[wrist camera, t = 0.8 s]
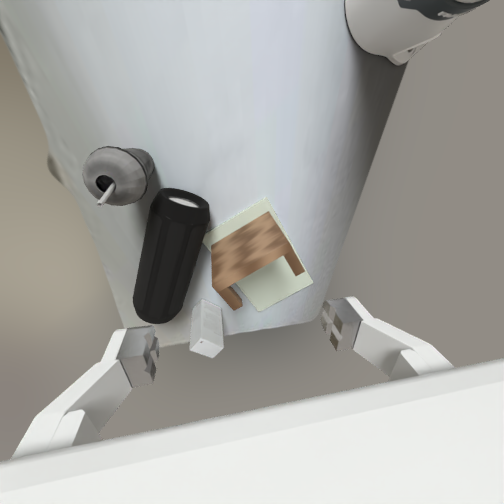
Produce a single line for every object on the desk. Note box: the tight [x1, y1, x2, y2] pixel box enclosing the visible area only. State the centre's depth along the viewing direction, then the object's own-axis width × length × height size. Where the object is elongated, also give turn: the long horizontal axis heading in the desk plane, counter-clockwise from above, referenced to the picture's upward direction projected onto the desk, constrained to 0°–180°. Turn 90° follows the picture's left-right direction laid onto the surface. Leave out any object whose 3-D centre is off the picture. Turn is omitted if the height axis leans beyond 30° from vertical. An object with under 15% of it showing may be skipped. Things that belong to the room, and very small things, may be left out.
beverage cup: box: [82, 146, 154, 207], centre depth 31 cm, size 7×7×20 cm
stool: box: [211, 211, 305, 310], centre depth 44 cm, size 14×7×14 cm, turn 120°
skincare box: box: [190, 299, 224, 358], centre depth 53 cm, size 6×4×12 cm
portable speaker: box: [133, 188, 210, 324], centre depth 44 cm, size 26×10×10 cm, turn 159°
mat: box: [203, 197, 313, 312], centre depth 54 cm, size 16×26×1 cm, turn 30°
